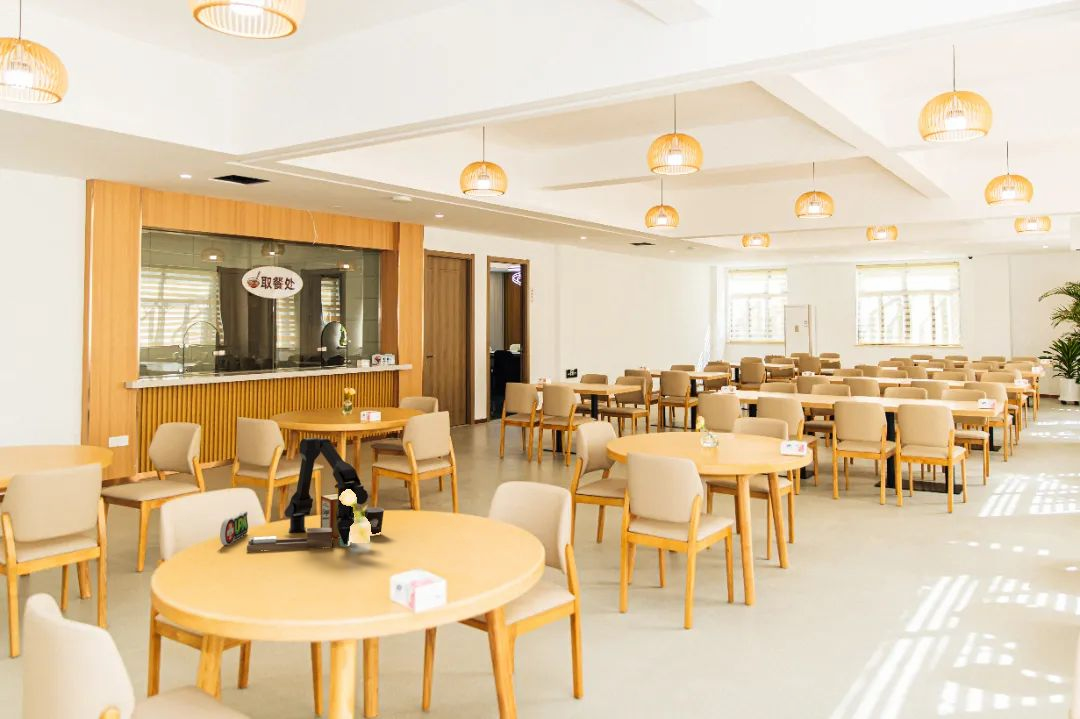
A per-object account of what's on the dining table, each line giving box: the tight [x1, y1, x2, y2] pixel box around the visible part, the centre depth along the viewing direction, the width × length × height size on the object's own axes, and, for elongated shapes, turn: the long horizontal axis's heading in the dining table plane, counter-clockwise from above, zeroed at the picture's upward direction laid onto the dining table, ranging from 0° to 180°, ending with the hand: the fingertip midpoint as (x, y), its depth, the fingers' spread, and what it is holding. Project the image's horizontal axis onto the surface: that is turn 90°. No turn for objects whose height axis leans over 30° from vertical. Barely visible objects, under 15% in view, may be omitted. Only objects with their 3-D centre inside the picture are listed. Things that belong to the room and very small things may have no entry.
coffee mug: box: [352, 507, 385, 534], centre depth 315 cm, size 12×9×10 cm
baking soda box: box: [320, 493, 340, 539], centre depth 312 cm, size 10×6×16 cm
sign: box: [219, 511, 249, 546], centre depth 302 cm, size 22×2×10 cm, turn 179°
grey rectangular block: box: [249, 535, 278, 545], centre depth 290 cm, size 4×9×4 cm, turn 106°
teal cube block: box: [338, 536, 349, 547], centre depth 298 cm, size 4×4×4 cm
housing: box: [246, 527, 333, 552], centre depth 293 cm, size 7×30×6 cm, turn 106°
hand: (344, 541), depth 298 cm, fingers open, 9 cm apart
